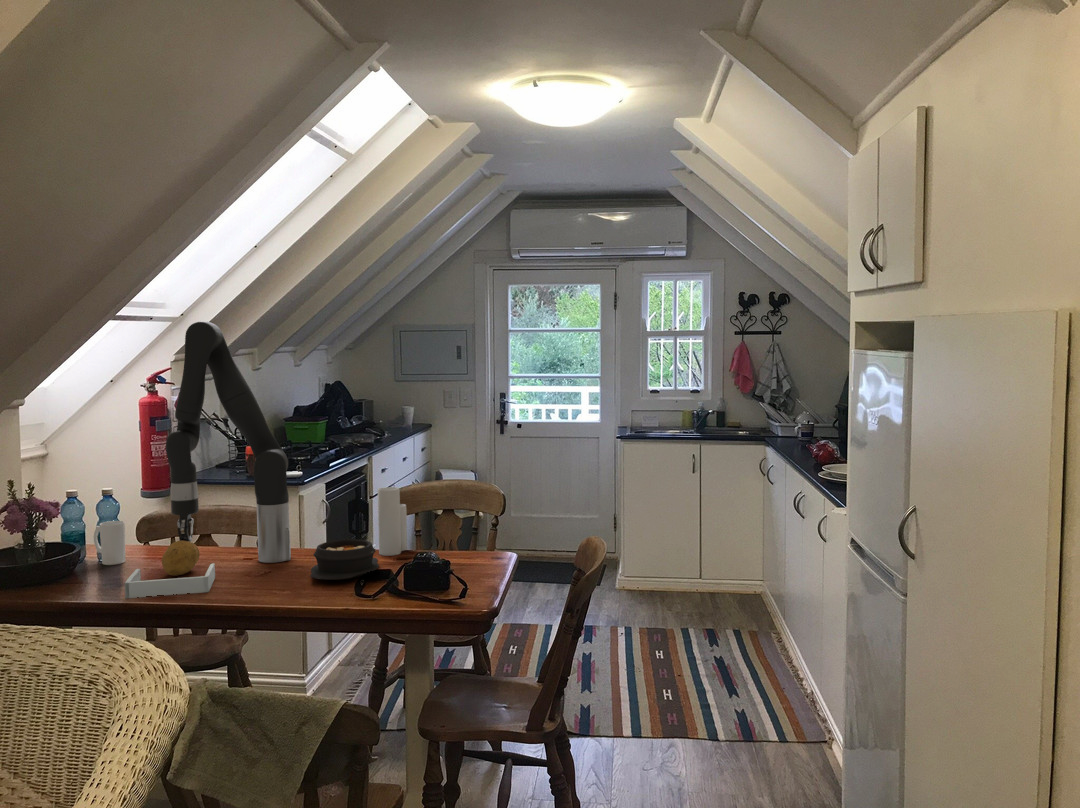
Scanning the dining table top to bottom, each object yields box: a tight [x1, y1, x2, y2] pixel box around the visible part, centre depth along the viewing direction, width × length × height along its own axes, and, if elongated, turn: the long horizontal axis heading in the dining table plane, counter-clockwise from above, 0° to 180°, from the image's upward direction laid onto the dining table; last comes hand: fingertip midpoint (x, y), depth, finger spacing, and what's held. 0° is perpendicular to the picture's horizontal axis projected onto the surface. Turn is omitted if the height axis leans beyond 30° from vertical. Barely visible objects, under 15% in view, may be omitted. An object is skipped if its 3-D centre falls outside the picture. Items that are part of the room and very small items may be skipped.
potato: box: [161, 539, 200, 577], centre depth 244 cm, size 10×13×9 cm
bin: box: [124, 563, 216, 600], centre depth 230 cm, size 20×15×4 cm
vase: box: [377, 486, 408, 557], centre depth 268 cm, size 11×7×20 cm, turn 169°
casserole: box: [309, 538, 380, 581], centre depth 241 cm, size 25×19×8 cm
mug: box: [93, 520, 126, 566], centre depth 259 cm, size 10×7×12 cm, turn 75°
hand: (186, 555), depth 256 cm, fingers closed
